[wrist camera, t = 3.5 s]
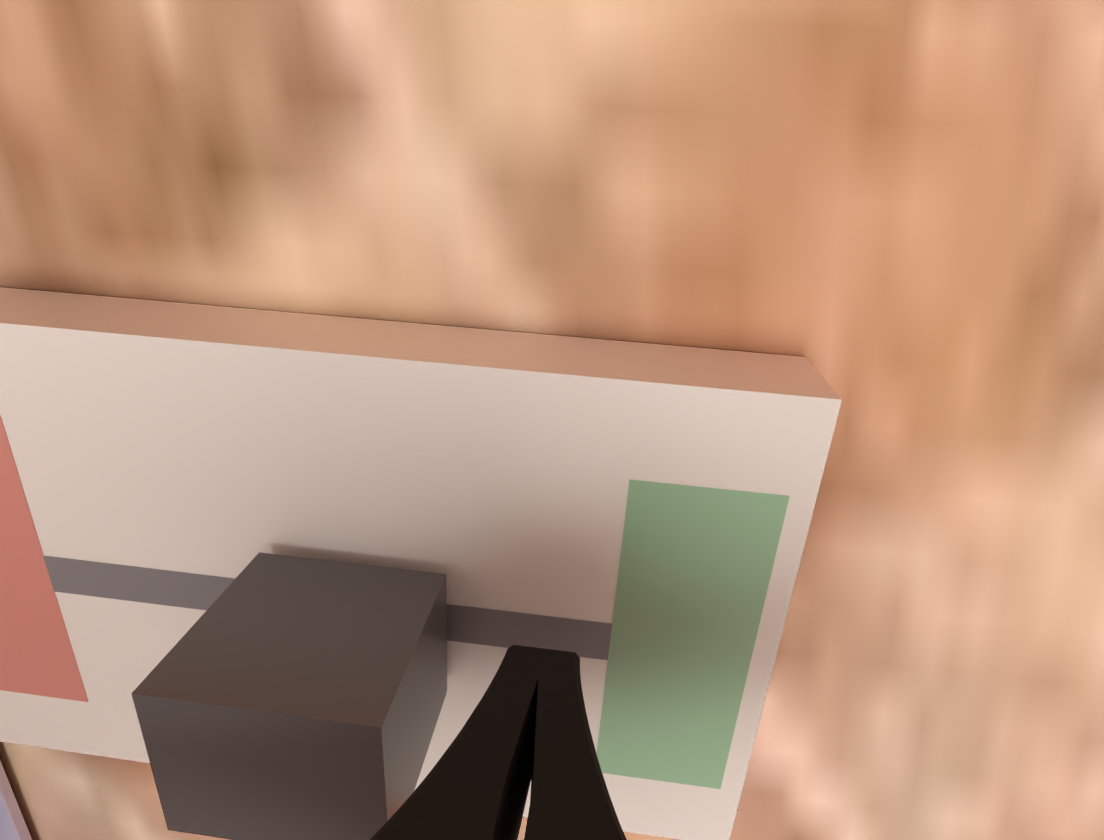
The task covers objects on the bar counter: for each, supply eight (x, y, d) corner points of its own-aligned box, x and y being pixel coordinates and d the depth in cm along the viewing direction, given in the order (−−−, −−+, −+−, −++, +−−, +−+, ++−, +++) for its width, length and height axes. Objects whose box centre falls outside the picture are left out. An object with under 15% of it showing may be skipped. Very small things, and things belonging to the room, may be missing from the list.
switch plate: (58, 670, 20) (-16, 739, 18) (-68, 281, 15) (-193, 306, 13) (715, 759, 18) (727, 847, 16) (805, 356, 14) (842, 400, 11)
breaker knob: (276, 668, 15) (168, 829, 11) (259, 552, 13) (130, 694, 10) (446, 690, 14) (390, 863, 11) (446, 573, 13) (381, 727, 10)
